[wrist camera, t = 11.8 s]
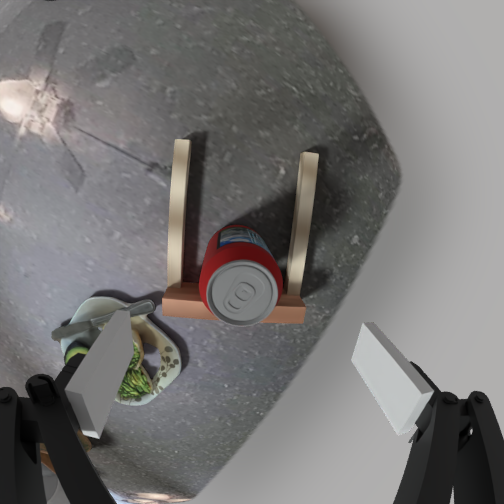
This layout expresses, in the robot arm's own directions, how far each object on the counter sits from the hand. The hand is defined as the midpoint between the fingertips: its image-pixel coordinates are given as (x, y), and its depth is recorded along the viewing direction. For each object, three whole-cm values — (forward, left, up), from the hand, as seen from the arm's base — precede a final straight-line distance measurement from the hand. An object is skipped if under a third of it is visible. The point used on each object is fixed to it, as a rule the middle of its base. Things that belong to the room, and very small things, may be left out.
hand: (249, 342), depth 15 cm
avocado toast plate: (+16, -16, -19) cm, 29 cm away
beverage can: (0, 0, -19) cm, 19 cm away
